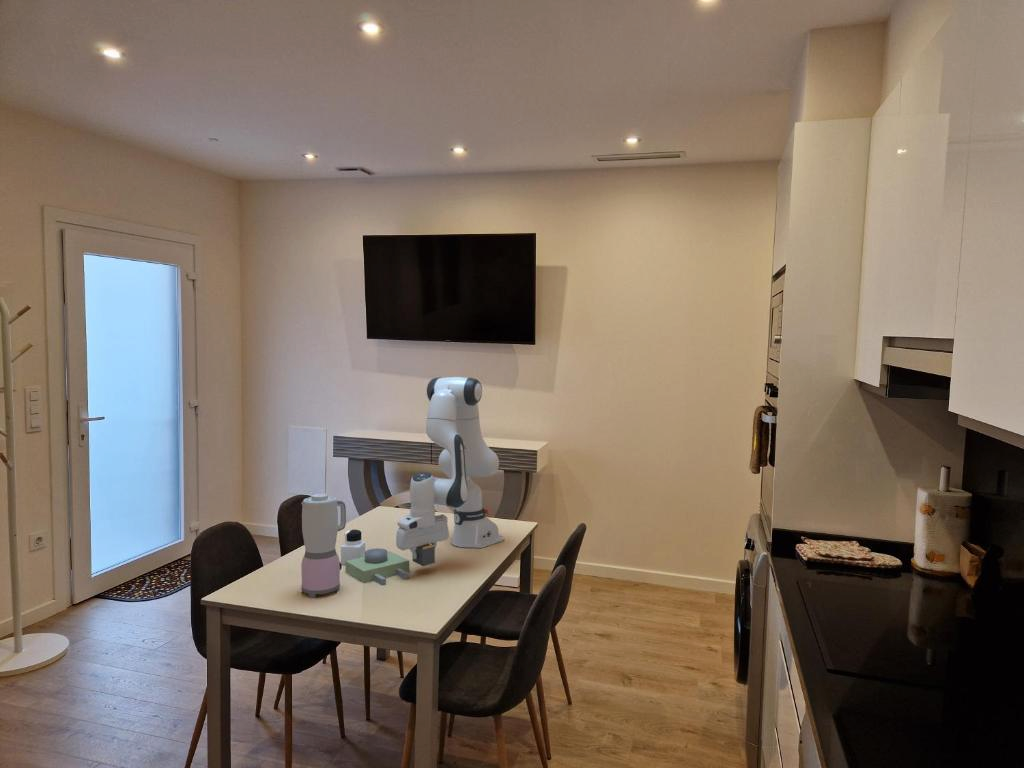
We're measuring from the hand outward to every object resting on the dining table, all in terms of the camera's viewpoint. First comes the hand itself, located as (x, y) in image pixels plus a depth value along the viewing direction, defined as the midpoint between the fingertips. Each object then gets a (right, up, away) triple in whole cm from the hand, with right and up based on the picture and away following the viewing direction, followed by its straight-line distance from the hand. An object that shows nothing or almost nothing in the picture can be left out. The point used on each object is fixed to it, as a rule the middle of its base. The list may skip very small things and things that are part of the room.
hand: (423, 556), depth 240 cm
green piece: (-15, -6, -2) cm, 16 cm away
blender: (-30, -7, -17) cm, 36 cm away
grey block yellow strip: (0, -2, 0) cm, 2 cm away
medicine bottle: (-28, -5, +11) cm, 30 cm away
